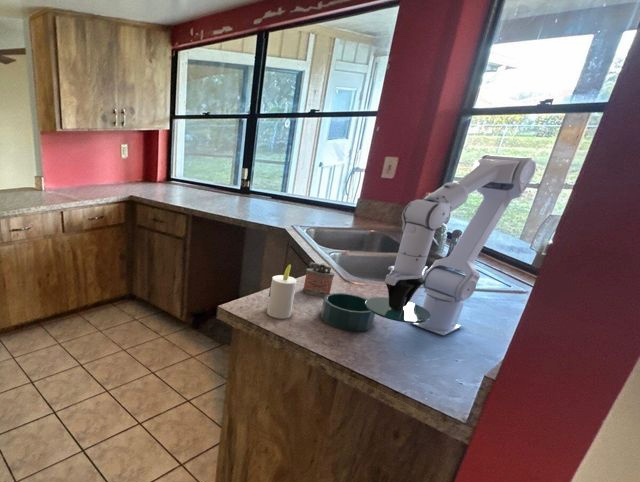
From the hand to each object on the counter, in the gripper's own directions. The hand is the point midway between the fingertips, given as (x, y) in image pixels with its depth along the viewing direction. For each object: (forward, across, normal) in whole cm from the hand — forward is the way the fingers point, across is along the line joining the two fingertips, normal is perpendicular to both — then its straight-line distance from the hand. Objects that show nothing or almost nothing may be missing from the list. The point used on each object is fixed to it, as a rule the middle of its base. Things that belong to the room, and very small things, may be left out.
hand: (397, 306), depth 98 cm
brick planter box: (+9, -9, -27) cm, 30 cm away
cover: (+1, 0, 0) cm, 1 cm away
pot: (+9, 0, -12) cm, 15 cm away
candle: (+9, +13, -24) cm, 28 cm away
